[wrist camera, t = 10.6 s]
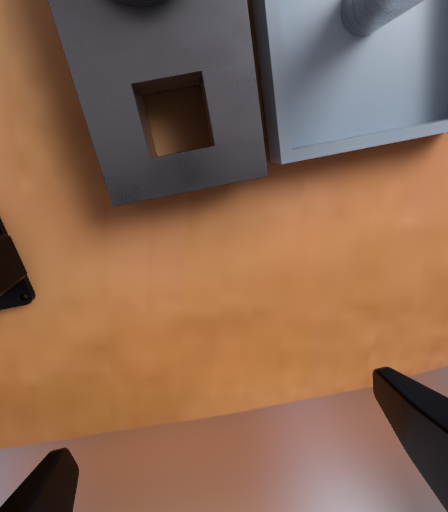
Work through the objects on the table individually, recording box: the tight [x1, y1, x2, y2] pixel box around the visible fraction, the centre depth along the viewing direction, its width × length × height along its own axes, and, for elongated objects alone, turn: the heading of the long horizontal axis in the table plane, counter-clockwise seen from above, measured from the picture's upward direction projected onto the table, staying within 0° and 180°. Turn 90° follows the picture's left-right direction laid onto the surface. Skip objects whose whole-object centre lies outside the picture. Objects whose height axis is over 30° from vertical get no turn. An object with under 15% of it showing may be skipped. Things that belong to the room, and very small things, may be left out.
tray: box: [251, 0, 448, 164], centre depth 14 cm, size 11×13×2 cm
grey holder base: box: [48, 0, 268, 206], centre depth 13 cm, size 8×14×5 cm, turn 10°
